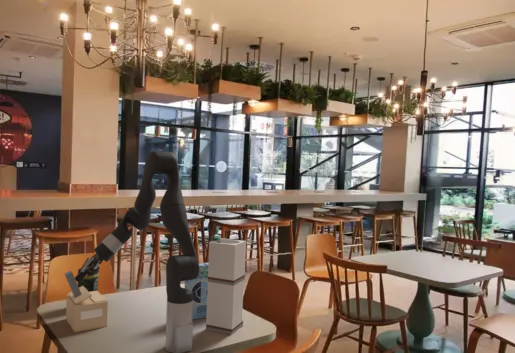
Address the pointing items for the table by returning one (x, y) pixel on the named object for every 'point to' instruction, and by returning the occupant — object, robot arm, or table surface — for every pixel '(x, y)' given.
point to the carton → (87, 312)
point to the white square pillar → (225, 285)
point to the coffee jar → (89, 281)
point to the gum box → (199, 291)
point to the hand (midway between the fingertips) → (76, 280)
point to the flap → (76, 289)
